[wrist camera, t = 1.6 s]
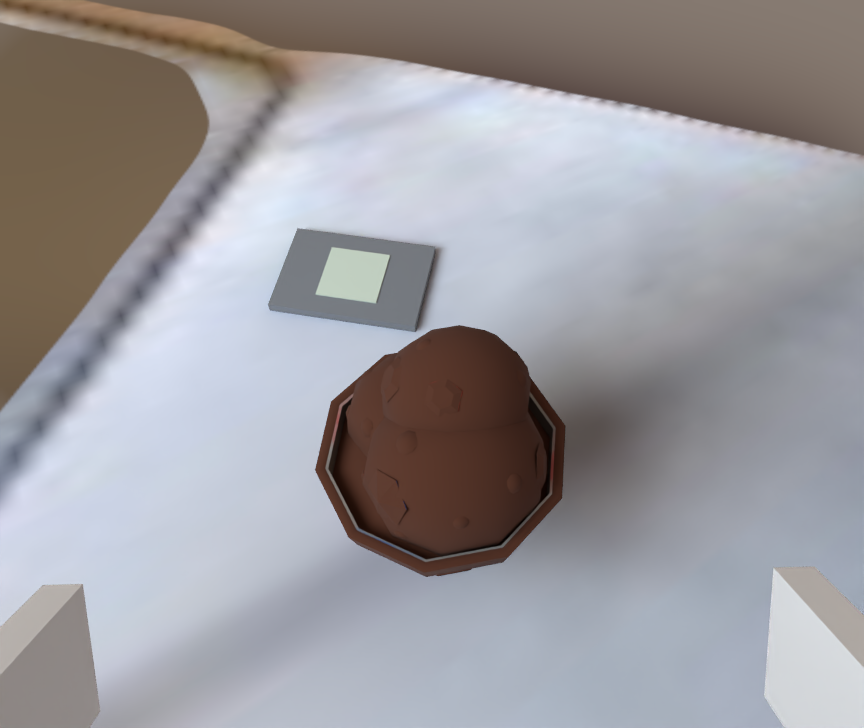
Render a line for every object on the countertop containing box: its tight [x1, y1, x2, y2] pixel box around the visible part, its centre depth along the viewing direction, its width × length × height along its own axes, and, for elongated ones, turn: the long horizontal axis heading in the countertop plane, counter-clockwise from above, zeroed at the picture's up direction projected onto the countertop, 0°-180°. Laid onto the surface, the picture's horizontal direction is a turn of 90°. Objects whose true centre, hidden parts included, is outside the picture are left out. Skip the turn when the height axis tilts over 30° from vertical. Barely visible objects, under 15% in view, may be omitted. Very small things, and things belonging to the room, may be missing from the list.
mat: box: [268, 229, 435, 332], centre depth 51 cm, size 10×7×1 cm
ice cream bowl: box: [315, 325, 565, 577], centre depth 35 cm, size 11×11×15 cm
